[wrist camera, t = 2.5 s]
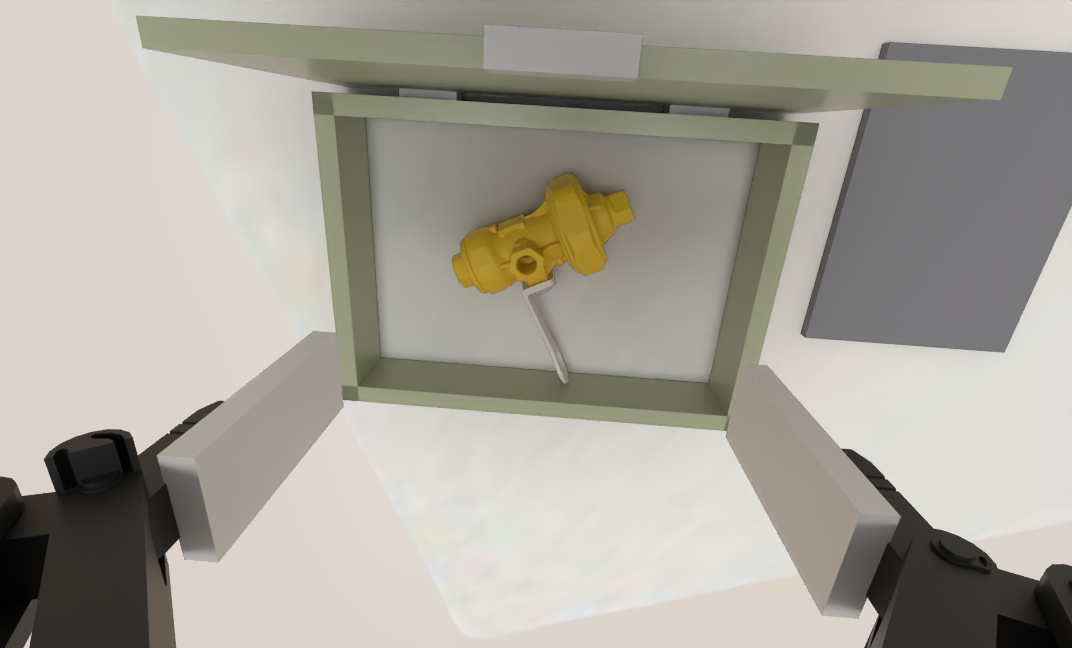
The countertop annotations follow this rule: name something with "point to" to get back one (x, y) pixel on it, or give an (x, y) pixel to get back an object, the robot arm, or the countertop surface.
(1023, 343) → the countertop surface
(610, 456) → the countertop surface
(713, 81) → the case
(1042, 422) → the countertop surface
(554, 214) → the pressure relief valve
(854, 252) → the pad
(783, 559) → the countertop surface
